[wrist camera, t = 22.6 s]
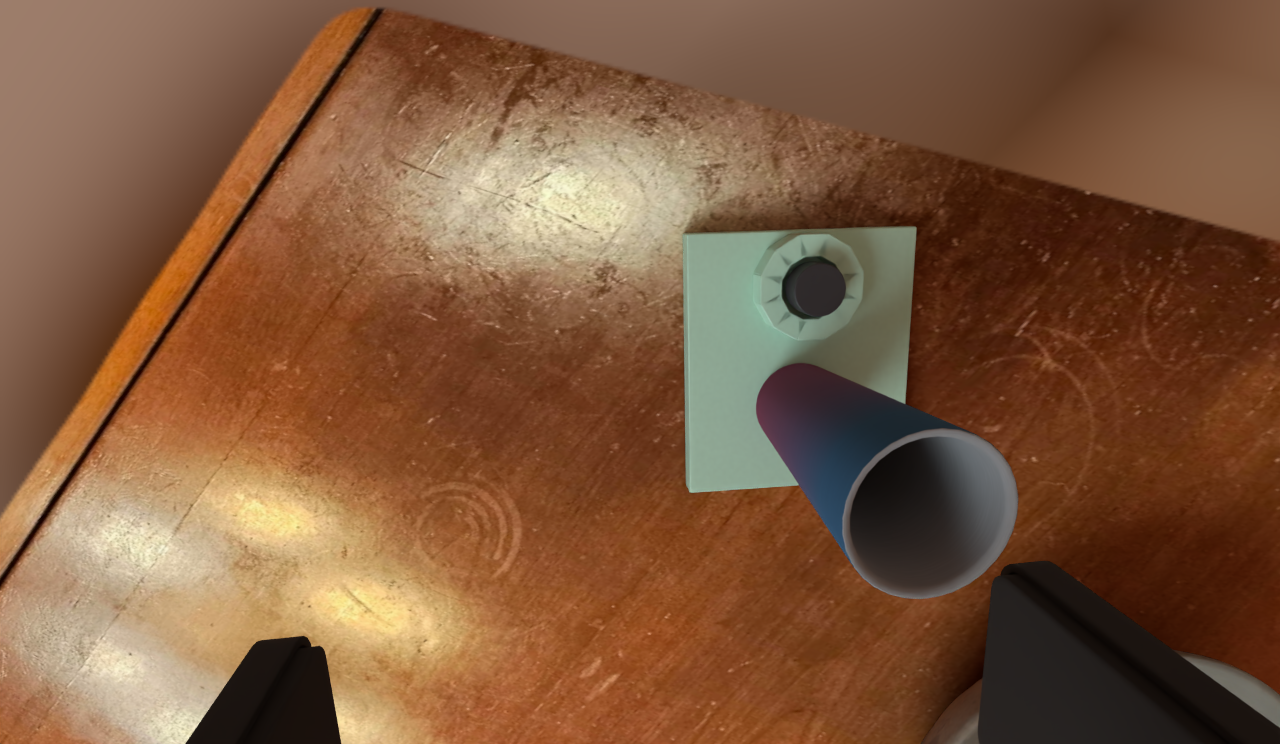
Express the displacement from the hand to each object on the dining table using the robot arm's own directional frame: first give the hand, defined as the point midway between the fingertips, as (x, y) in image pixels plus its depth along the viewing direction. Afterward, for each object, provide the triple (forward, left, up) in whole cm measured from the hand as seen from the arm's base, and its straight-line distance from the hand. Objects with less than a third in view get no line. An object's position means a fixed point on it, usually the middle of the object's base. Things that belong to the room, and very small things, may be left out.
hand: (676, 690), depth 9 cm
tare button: (-2, +12, -28) cm, 30 cm away
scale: (+2, +12, -30) cm, 33 cm away
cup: (+5, +12, -29) cm, 32 cm away
